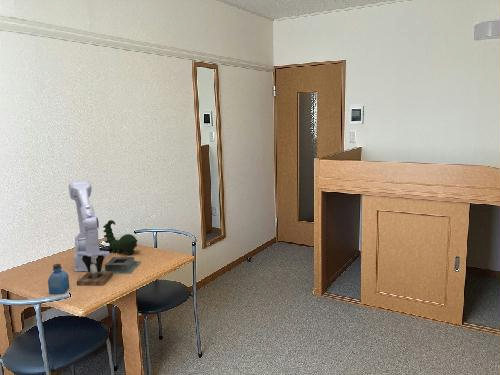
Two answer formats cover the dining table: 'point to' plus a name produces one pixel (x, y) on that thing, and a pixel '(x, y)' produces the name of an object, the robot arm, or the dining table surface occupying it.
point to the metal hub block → (121, 265)
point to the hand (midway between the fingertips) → (94, 271)
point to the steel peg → (94, 270)
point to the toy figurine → (123, 243)
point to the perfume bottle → (58, 280)
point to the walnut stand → (101, 281)
